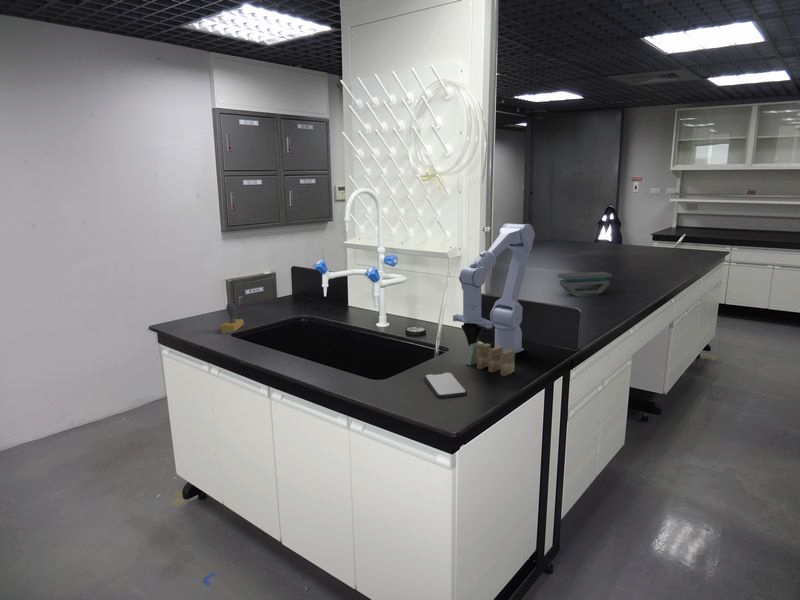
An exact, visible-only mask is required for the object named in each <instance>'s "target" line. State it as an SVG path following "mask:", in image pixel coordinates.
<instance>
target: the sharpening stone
mask: <svg viewBox="0 0 800 600" xmlns="http://www.w3.org/2000/svg"><path fill="white" fill-rule="evenodd" d="M612 276H613V275H612V273H610V272H606V271H593V272H592V271H591V272H572V273H571V272H570V273H569V272H568V273H557V278H560V279H561V280H559V286H561V287H562V289H564V290H565V292H567V291H568V292H570V293H573V294H585V293H600V294H602V292H603V291H605V289H606V288H608V287H609V286H610V280H608V279H606V278H612ZM576 286H590V287H580V288H578V287H577V288H575V287H576ZM568 292H567V293H568Z"/></svg>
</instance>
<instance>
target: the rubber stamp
mask: <svg viewBox="0 0 800 600" xmlns="http://www.w3.org/2000/svg"><path fill="white" fill-rule="evenodd" d="M225 309H226V311H227V314H228V315H229V320H227V321H226V322H224V323H222V324H221V325H220V330H221V331H235V330H237V329H238V328H240V327H241V326H242V325H244V320H243V318H242V319H238V318H237V319H235V318H234V316H235V312H236V305H235V304H234V303H233V302H228V303H227V304H226V307H225ZM244 326H245V325H244ZM221 331H220V332H221Z"/></svg>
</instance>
